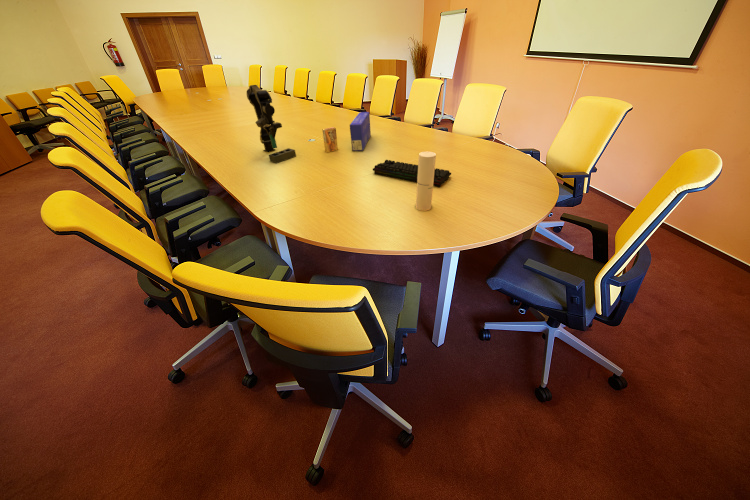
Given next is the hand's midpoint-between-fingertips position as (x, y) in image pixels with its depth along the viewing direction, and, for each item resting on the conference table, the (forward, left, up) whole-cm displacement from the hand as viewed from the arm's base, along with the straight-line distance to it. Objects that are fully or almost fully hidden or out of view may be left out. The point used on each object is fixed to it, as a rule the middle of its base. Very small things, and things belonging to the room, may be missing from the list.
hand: (272, 137), depth 193 cm
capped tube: (0, 0, -6) cm, 6 cm away
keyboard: (+96, +22, -13) cm, 99 cm away
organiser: (+7, 0, -13) cm, 15 cm away
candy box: (+23, +31, -13) cm, 41 cm away
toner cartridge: (+31, +56, -13) cm, 65 cm away
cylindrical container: (+121, -7, -13) cm, 121 cm away
